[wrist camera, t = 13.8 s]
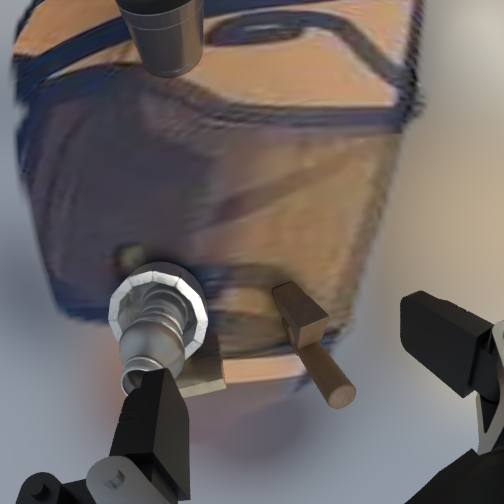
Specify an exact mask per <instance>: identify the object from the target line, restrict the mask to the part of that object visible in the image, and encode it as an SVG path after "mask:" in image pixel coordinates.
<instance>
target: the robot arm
mask: <svg viewBox="0 0 504 504" xmlns="http://www.w3.org/2000/svg"><path fill="white" fill-rule="evenodd" d="M116 2H117V5H118V7H119V10H120V12H121V14H122V17H123V18H124V21H125V23H126V25H127V28H128V30H129V32H130V35H131V37H132V39H133V41H134V44H135V46H136V48H137V50H138V53H139V55H140V57H141V60H142V62H143V64H144V66H145V68H146V69H147V70H148V71H149V72H151V73H152V74H154V75H156V76H159V77H176V76H180V75H182V74H185V73H187V72H188V71H190V70H191V69H193V68H194V67H195V66H196V65H197V63H198V62H199V60H200V58H201V56H202V50H203V16H204V0H116ZM400 313H401V314H400V323H401V324H400V338H401V342H402V345H403V347H404V348H405V350H406V351H407V352H408V353H409V354H411V355H412V356H413V357H414V358H415V359H417V360H418V361H419V362H420V363H422V364H423V365H424V366H425V367H426V368H427V369H429V370H430V371H431V372H432V373H434V374H435V375H436V376H437V377H438V378H439V379H441V380H442V381H443V382H444V383H445V384H447V385H448V386H449V387H450V388H451V389H452V390H454V391H455V392H456V393H457V394H458V395H460V396H461V397H462V398H465V397H466V396H467V395H469V394H470V393H471V392H473V391H474V390H475V391H477V392H478V393H477V396H476V408H477V419H478V432H479V446H478V451H477V453H476V452H475V451H474V450H473V449H470V450H469V451H468V452H466V453H465V454H464V455H462V456H461V457H460V458H458V459H457V460H455V461H454V462H453V463H451V464H450V465H448V466H447V467H445V468H444V469H442V470H441V471H439V472H438V473H437V474H436V475H435V476H434V477H433V478H432V479H431V480H430V481H429V482H428V483H427V484H426V485H425V486H424V487H423V488H422V489H421V490H420V491H418V492H417V493H416V494H415V495H414V496H413V497H412V498H411V499H410V500H408V501H407V502H406V503H405V504H504V320H503V321H500V322H498V323H496V324H495V325H494V324H492V323H490V322H488V321H486V320H484V319H482V318H480V317H478V316H477V315H475V314H473V313H471V312H469V311H468V312H467V311H466V310H465V309H463V308H461V307H458V306H457V305H455V304H453V303H451V302H449V301H447V300H442V299H438V298H436V297H433V296H432V295H430V294H428V293H426V292H424V291H417V292H415V293H413V294H410V295H408V296H406V297H403V298H402V300H401V303H400ZM121 412H122V413H121V414H120V417H119V423H118V424H117V428H116V431H115V435H114V439H113V442H112V446H111V450H110V454H109V457H106V458H104V459H101V460H100V461H98V462H96V463H95V464H94V465H93V466H92V467H91V469H90V470H89V471H88V474H87V477H86V479H83V480H79V481H74V482H70V483H65V484H62V483H61V482H60V481H59V480H58V479H57V478H56V477H55V476H53V475H52V474H49V473H45V472H40V473H36V474H34V475H32V476H30V477H29V478H27V479H26V481H25V482H24V483H23V485H22V487H21V489H20V492H19V495H18V498H17V501H16V504H178V501H184V500H190V469H189V415H188V410H187V407H186V404H185V402H184V400H183V398H182V396H181V393H180V391H179V389H178V387H177V385H176V382H175V380H174V378H173V376H172V373H171V371H170V370H169V369H168V368H162V369H156V370H151V371H146V372H144V375H143V379H142V382H141V386H140V388H136V389H133V390H132V391H131V393H130V394H129V395H128V396H127V398H126V399H125V400H124V404H123V407H122V410H121Z"/></svg>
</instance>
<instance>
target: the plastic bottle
mask: <svg viewBox="0 0 504 504" xmlns="http://www.w3.org/2000/svg"><path fill="white" fill-rule="evenodd" d="M190 309H191V308H190V303H189V300H188V298H187V297H186V296H185V295H184V294H182V293H181V292H180V291H179V290H178V289H177V288H176V287H175V286H171V285H167V284H163V283H159V284H156V285H154V286H153V287H151V288H150V289H149V290H147V292H146V293H145V294H144V297H143V299H142V304H141V311H140V314H139V316H138V317H137V319H136V320H135V321H134V322H132V323H131V324H130V325H129V326H128V327H127V328H126V330H125V331H124V332H123V334H122V335H121V338H120V340H119V358H120V361H121V364H122V366H123V373H122V376H121V387H122V390H123V391H124V393H125V394H126V396H128V395H129V394H130V393H131V391H132V390H133V389H136V388H140V386H141V382H142V379H143V375H144V372H146V371H151V370H156V369H162V368H168V369H169V370H170V371H171V373H172V376H173V378H174V379H175V378H176V377H177V376H178V374H179V373H180V372H181V370H182V368H183V366H184V362H185V348H184V343H183V329H184V327H185V325H186V323H187V321H188V319H189V317H190Z"/></svg>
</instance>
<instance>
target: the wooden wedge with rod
mask: <svg viewBox="0 0 504 504" xmlns="http://www.w3.org/2000/svg"><path fill="white" fill-rule="evenodd" d="M272 292H273V295H274V298H275V301H276V304H277V307H278V309H279V310H280V312H281V313H282V315H283V316H284V318H283V324H284V327H285V329H286V332H287V335H288V338H289V341H290V344H291V346H292V348H293V350H294V352H295V353H296V355H297V356H299V357H300V359H301V361H302V362H303V364H304V366H305V367H306V369H307V370H308V372H309V374H310V375H311V377H312V379H313V380H314V382H315V384H316V385H317V387H318V388H319V390H320V392H321V393H322V395H323V397H324V398H325V400H326V402H327V403H328V405H329V406H330V407H332V408H335V409H339V408H343V407H345V406H347V405H349V404H350V403H351V402H352V401H353V399H354V398H355V395H356V389H355V387H354V385H353V384H352V383H351V382H350V380H349V379H348V378H347V377H346V375H345V374H344V373H343V371H342V370H341V369H340V368H339V366H338V365H337V364H336V363H335V361H334V360H333V359H332V358H331V356H330V355H329V354H328V353H327V351H326V350H325V349H324V347H323V346H322V345H321V344H320V342H319V340H321V339H322V337H323V334H324V331H325V328H326V325H327V323H328V320H329V315H328V314H327V313H326V312H325V311H324V310H323V309H322V308H321V307H320V306H319V305H318V304H317V303H316V302H315V301H314V300H312V299H311V298H310V297H309V296H307V295H306V294H305V293H304V292H303V291H302V290H301V289H300V288H299V287H298V286H297V285H296V284H295V283H294V282H290V283H288V284H285V285H283V286H280V287H277V288H275V289H273V291H272Z"/></svg>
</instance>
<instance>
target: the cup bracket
mask: <svg viewBox="0 0 504 504" xmlns="http://www.w3.org/2000/svg"><path fill="white" fill-rule="evenodd" d="M159 283H163V284H167V285H171V286H175V287H176V288H177V289H178V290H179V291H180V292H181V293H182V294H184V295H185V296H186V297H187V298H188V300H189V303H190V308H191V309H190V317H189V319H188V321H187V323H186V325H185V327H184V329H183V343H184V348H185V362H184V366H183V368H182V370H181V372H180V373H179V374H178V376H177V377H176V378H175V379H174V380H175V382H176V385H177V387H178V389H179V391H180V393H181V396H182V398H185V397H190V396H195V395H199V394H204V393H208V392H213V391H217V390H221V389H225V388H226V382H225V375H224V368H223V360H222V353H221V345H220V341H219V338H218V335H217V336H213V337H210V338H206V339H204V336H205V332H206V328H207V324H208V309H207V303H206V300H205V295H204V292H203V289H202V287H201V285H200V283H199V282H198V281H197V279H196V278H195V277H194V276H193V275H192V274H191V273H190V272H189V271H187V270H186V269H184V268H183V267H181V266H178V265H176V264H173V263H169V262H152V263H148V264H145V265H143V266H141V267H138V268H136V269H135V270H134V271H133V272H132V273H131V274H130V275H129V276H128V277H127V279H126V280H125V281H124V282H123V283H122V284H121V285H120V287H119V288H118V289H117V290H116V291H115V292H114V294H113V295H112V297H111V301H110V309H109V317H108V320H109V324H110V326H111V328H112V331H113V333H114V335H115V338H116V340H117V342H119V340H120V338H121V335H122V334H123V332H124V331H125V330H126V328H127V327H128V326H129V325H130V324H131V323H132V322H134V321H135V320H136V319H137V317H138V316H139V314H140V311H141V304H142V299H143V297H144V294H145V293H146V292H147V290H149V289H150V288H151V287H153V286H154V285H156V284H159Z"/></svg>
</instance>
